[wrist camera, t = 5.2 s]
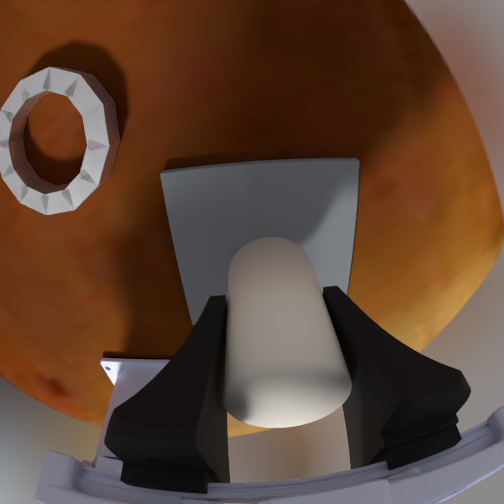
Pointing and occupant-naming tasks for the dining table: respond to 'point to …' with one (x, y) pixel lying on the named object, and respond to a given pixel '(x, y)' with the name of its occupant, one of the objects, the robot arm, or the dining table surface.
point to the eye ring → (96, 129)
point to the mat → (260, 217)
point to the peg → (280, 339)
